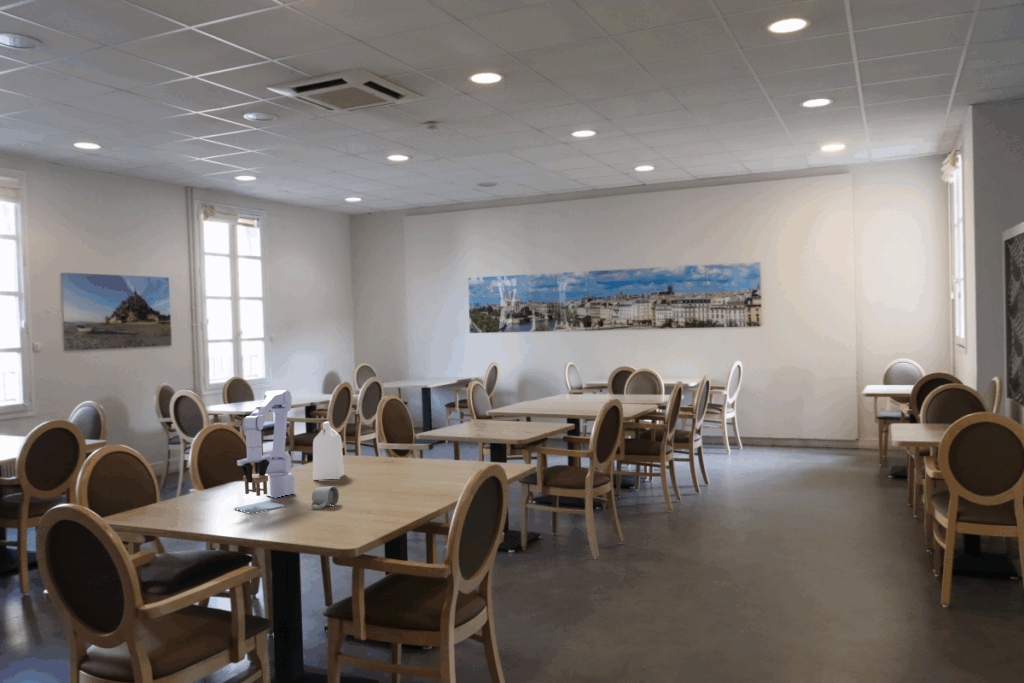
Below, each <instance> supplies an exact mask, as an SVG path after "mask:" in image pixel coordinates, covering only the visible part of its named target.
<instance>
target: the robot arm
mask: <svg viewBox="0 0 1024 683" xmlns="http://www.w3.org/2000/svg"><path fill="white" fill-rule="evenodd" d="M292 400H293V397H292V394H291V392H290V391H289V390H288V389H286V390H267V391H266V392H264V394H263V401H262V403H261V404H260V405H257V406H256V407H255V408H254V410H253V411H252V412H251V413H250V414H249V415H247V416H245V417H244V418H242V424H241V426H242V429H243V434H244V436H245V444H246V445H245V446H246V458H242V459H238V460H236V465H237V466H239V467H240V469H241V470H242V472H243V474H244V476H246V479H247V482H248V483H251V484H252V474H253V469H254V465H253V464H254V463H256V464H257V469H258V475H265V476H266V474H267V476H268V477H269V490H270V491H269V492H270V493H269V494H265V495H266V497H268V496H270V497H269V498H273V497H274V499H278V498H277V497H280V498H282V497H281V496H284V497H286V496H285V495H289V496H291V495H290V494H294V495H296V494H295V493H296V490H295V485H296V484H295V476H294V475H293V473H291V471H292V468H293V467H292V466H293V465H292V457H291V455H290V454H289V453H288V452H287V451H286V439H287V438H286V436H287V424H288V422H287V421H288V412H289V411H291V409H292ZM270 411H271V412H274V426H273V427H274V428H273V439H272V440H273V442H272V450H271V451H270V452H269V453H268V454H264V455H263V448H262V447H263V444H262V443H263V442H262V441H263V440H262V430H263V429H264V424H265V420H266V419H267V418H268V417H269V415H270Z"/></svg>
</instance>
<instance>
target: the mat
mask: <svg viewBox="0 0 1024 683" xmlns="http://www.w3.org/2000/svg"><path fill="white" fill-rule="evenodd" d="M283 506H285V507H286V505H285V504H281V503H276V502H272V501H268V500H264V501H262V502H256V503H251V504H247V505H242V506H237V507H234V508H235V509H238V510H242V511H245V512H249V513H255V514H257V513H256V512H260V513H262V512H261V511H264V512H266V511H265V510H269V511H271V510H270V509H273V510H275V509H274V508H278V507H282V508H284V507H283ZM278 509H279V508H278ZM245 512H244V513H245ZM249 513H248V514H249Z"/></svg>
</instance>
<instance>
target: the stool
mask: <svg viewBox="0 0 1024 683" xmlns="http://www.w3.org/2000/svg"><path fill="white" fill-rule="evenodd" d="M242 481H243V482H244V494H246V495H249V494H250V492H251V493H255V494H256V496H257V497H259V496H261V492H262V491H263V495H268V482H269V476H268V475H266V474H265V475H259V473H257V474H256V473H252V483H251V488H250V485H249V483H248V482H247V479H246V476H245V475H243V476H242ZM261 483H262V484H263V485H262V487H263V488H261V485H260V484H261Z"/></svg>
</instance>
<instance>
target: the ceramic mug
mask: <svg viewBox="0 0 1024 683" xmlns="http://www.w3.org/2000/svg"><path fill="white" fill-rule="evenodd" d="M339 498H340V493H339V490H338V488H337V486H334V485H332V486H319V487H316V488H314V490H313V491H312V494H311V499H312V502H311V503H310V505H311V509H312V510H314V509H318V510H321V509H324V508H325V507H329V506H332V505H335V506H336V505H337V504H338V502H339V500H340V499H339ZM330 504H331V505H330ZM317 505H318V506H317Z"/></svg>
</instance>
